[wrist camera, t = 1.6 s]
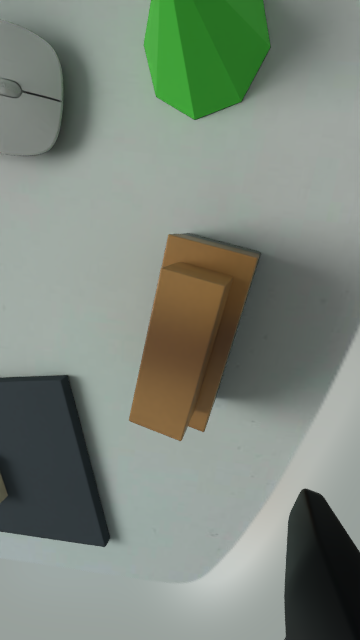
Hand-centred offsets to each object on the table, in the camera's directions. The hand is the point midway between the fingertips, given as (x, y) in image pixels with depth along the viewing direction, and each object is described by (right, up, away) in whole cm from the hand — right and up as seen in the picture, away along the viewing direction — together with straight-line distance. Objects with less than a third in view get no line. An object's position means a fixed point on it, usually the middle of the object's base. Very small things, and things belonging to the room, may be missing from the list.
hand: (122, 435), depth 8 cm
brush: (+3, +3, +10) cm, 11 cm away
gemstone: (+3, +16, +7) cm, 17 cm away
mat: (-15, -8, +18) cm, 25 cm away
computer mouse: (-9, +16, +10) cm, 21 cm away
